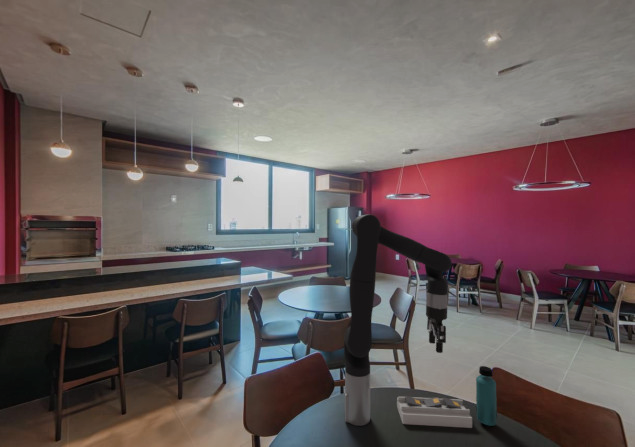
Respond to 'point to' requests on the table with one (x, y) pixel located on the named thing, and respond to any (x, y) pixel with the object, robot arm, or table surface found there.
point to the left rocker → (413, 401)
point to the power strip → (434, 414)
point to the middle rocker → (432, 402)
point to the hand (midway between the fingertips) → (435, 347)
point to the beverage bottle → (486, 397)
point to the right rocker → (451, 403)
